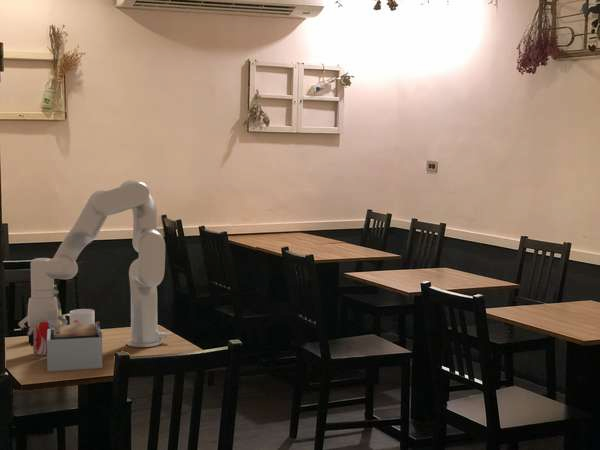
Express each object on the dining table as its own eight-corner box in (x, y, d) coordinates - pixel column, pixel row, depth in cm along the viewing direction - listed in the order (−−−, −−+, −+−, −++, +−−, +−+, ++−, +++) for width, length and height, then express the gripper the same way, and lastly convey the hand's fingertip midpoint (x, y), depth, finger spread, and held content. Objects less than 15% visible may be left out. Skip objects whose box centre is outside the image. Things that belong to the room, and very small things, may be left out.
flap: (94, 325, 272) (94, 322, 272) (96, 335, 257) (96, 331, 257) (54, 327, 268) (54, 324, 268) (54, 337, 254) (54, 333, 254)
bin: (99, 354, 275) (99, 321, 274) (102, 367, 257) (102, 332, 257) (48, 358, 270) (47, 324, 269) (47, 371, 253) (46, 335, 252)
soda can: (48, 356, 271) (47, 322, 270) (29, 355, 273) (28, 321, 272) (58, 352, 278) (57, 318, 277) (39, 351, 280) (39, 317, 279)
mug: (98, 338, 299) (98, 309, 299) (88, 344, 291) (88, 313, 290) (69, 337, 302) (68, 308, 301) (57, 342, 293) (57, 312, 292)
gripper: (68, 291, 280) (69, 341, 281) (16, 293, 275) (17, 344, 276) (69, 294, 273) (70, 345, 274) (15, 297, 268) (16, 348, 269)
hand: (43, 344), depth 275 cm, fingers closed on soda can, 7 cm apart
